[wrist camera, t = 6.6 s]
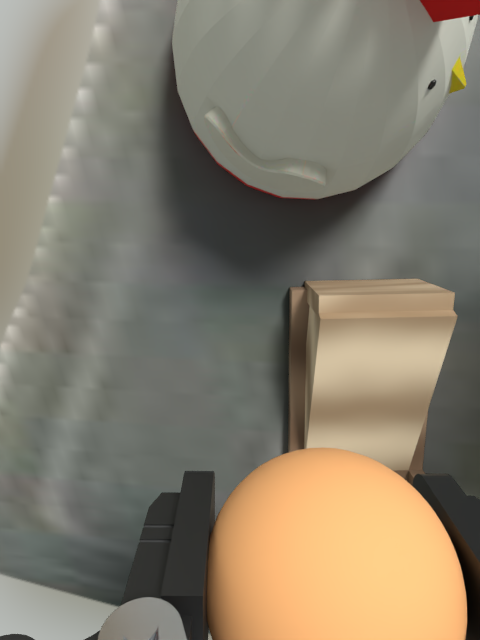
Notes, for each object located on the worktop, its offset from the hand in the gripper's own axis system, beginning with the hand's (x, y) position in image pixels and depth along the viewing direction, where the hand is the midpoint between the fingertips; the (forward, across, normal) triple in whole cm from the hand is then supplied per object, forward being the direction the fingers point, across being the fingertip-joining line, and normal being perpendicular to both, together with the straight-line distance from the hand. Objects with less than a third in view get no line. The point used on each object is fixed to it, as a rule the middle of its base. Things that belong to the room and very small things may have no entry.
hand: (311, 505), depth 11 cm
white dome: (+17, -2, -14) cm, 23 cm away
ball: (-2, 0, 0) cm, 2 cm away
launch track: (+19, -6, +8) cm, 21 cm away
